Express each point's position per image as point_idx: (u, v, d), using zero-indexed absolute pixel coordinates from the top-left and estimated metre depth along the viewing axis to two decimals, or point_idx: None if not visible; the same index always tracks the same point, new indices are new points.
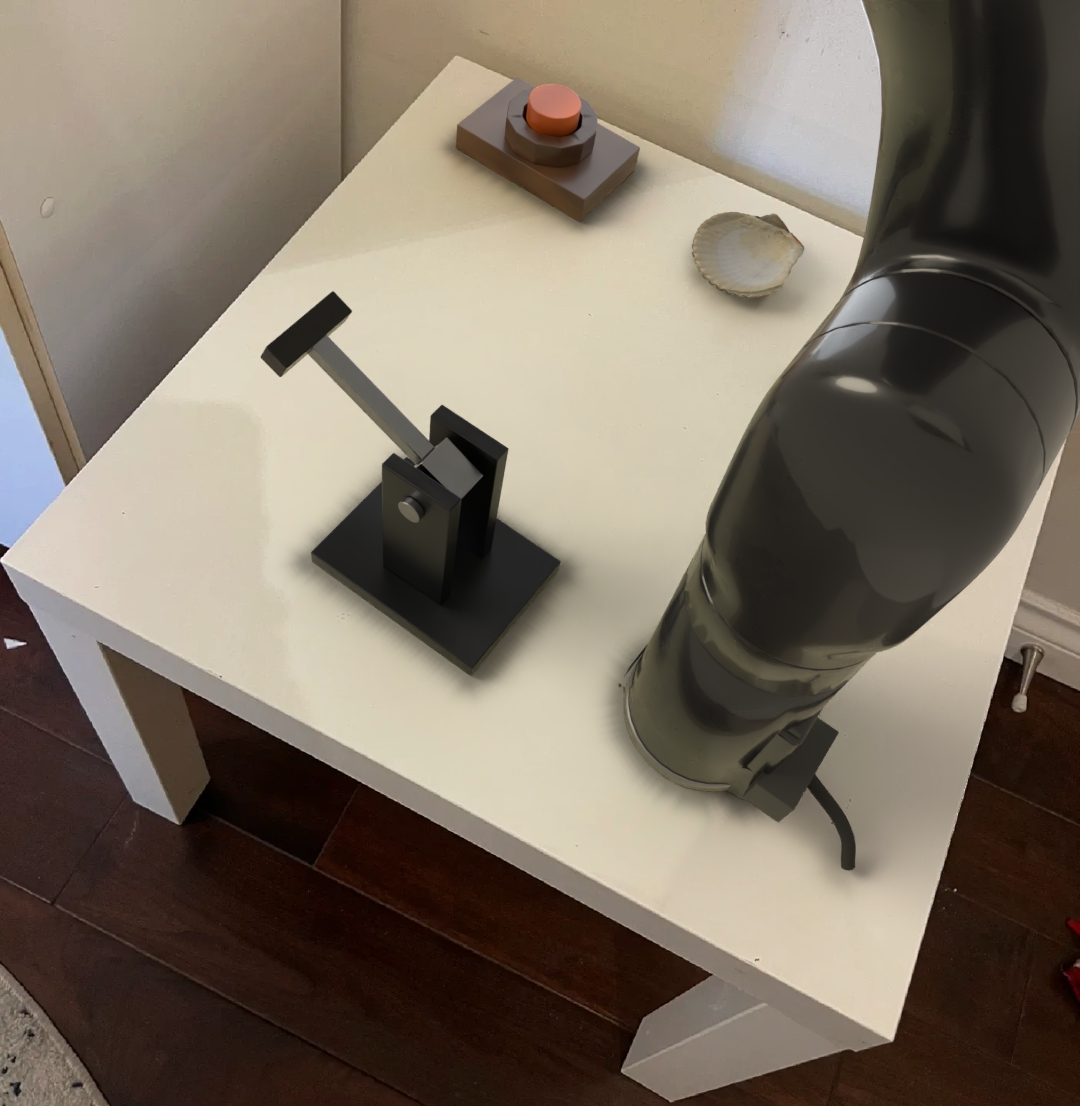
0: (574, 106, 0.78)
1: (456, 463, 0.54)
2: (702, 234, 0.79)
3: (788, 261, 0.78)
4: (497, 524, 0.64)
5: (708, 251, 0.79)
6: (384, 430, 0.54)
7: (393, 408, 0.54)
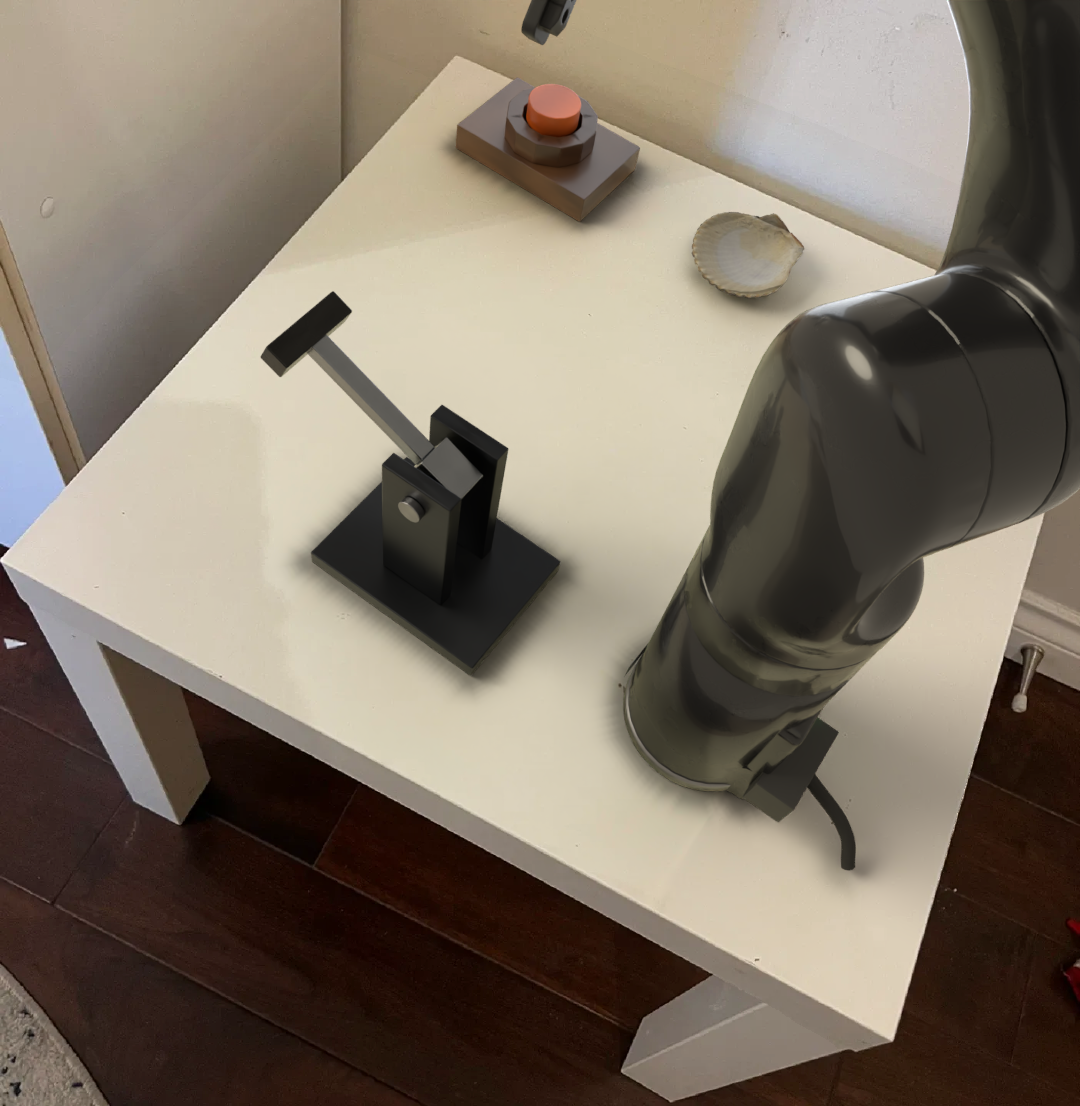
0: (574, 106, 0.78)
1: (456, 463, 0.54)
2: (702, 234, 0.79)
3: (788, 261, 0.78)
4: (497, 524, 0.64)
5: (708, 251, 0.79)
6: (384, 430, 0.54)
7: (393, 408, 0.54)
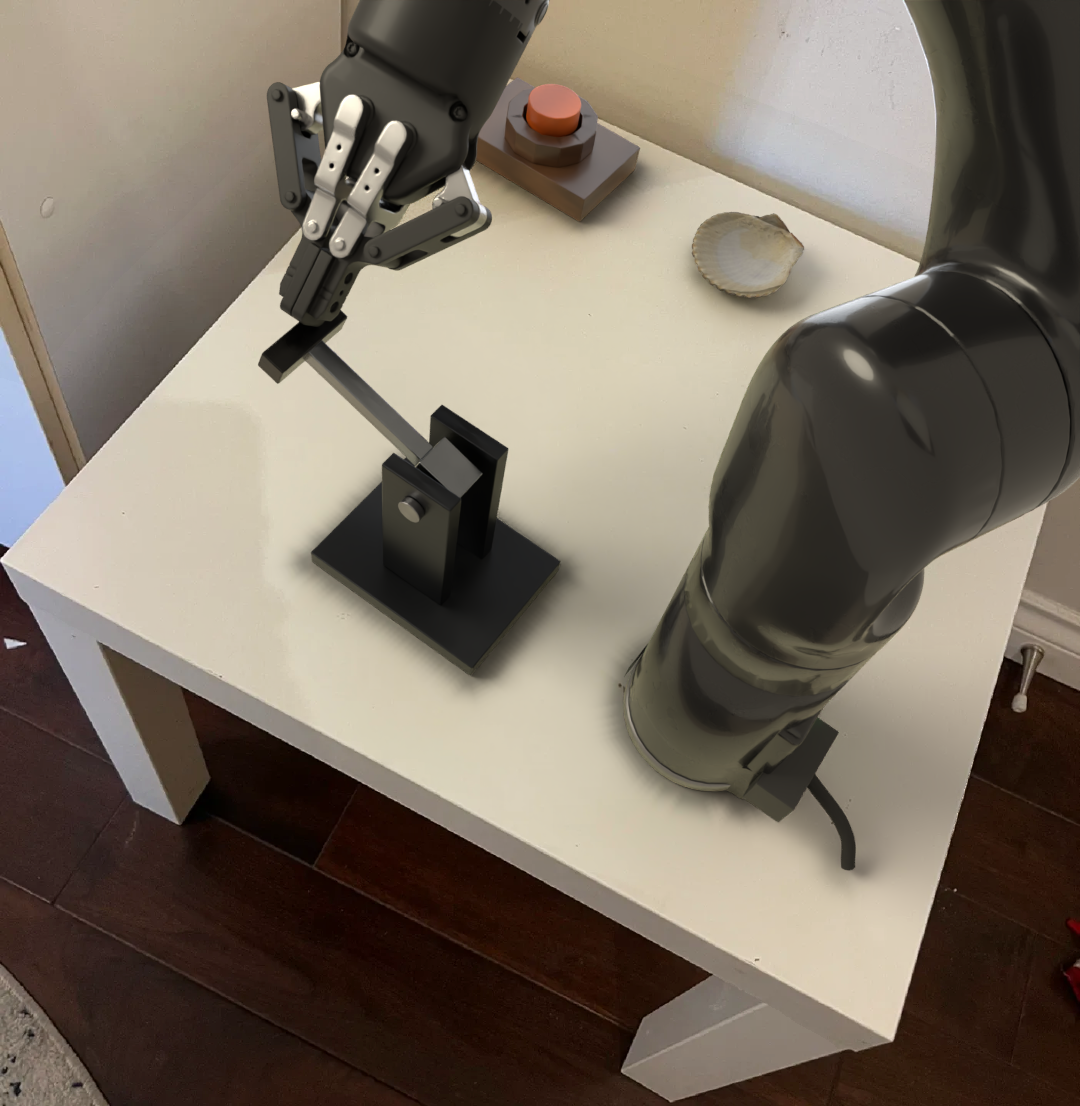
0: (574, 106, 0.78)
1: (455, 462, 0.54)
2: (702, 234, 0.79)
3: (788, 261, 0.78)
4: (497, 524, 0.64)
5: (708, 251, 0.79)
6: (382, 432, 0.54)
7: (390, 410, 0.54)
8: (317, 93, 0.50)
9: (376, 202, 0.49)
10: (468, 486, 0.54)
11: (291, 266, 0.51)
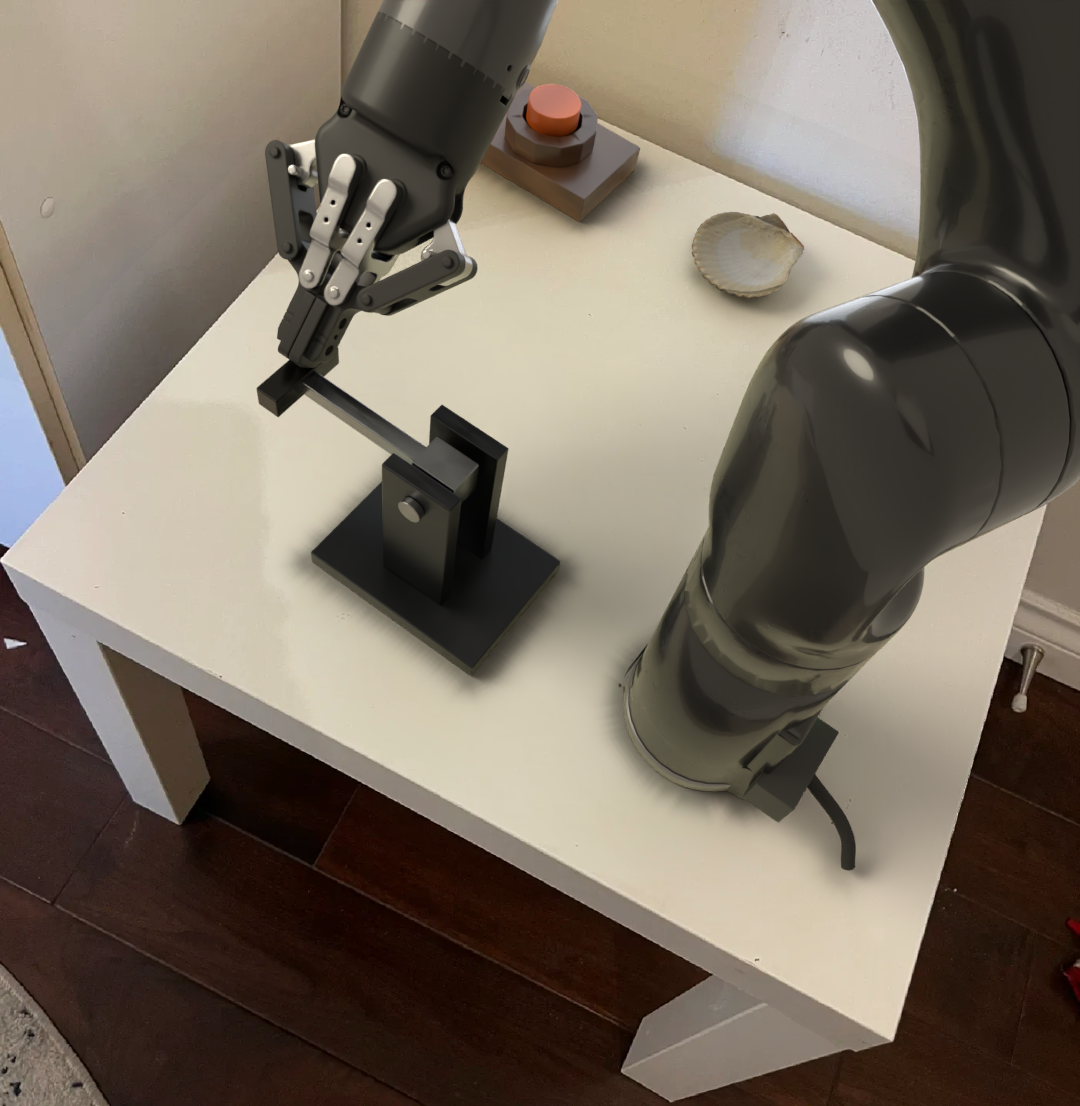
0: (574, 106, 0.78)
1: (449, 457, 0.54)
2: (702, 234, 0.79)
3: (788, 261, 0.78)
4: (497, 524, 0.64)
5: (708, 251, 0.79)
6: (380, 445, 0.55)
7: (384, 422, 0.55)
8: (312, 150, 0.53)
9: (368, 254, 0.52)
10: (464, 477, 0.54)
11: (288, 312, 0.55)
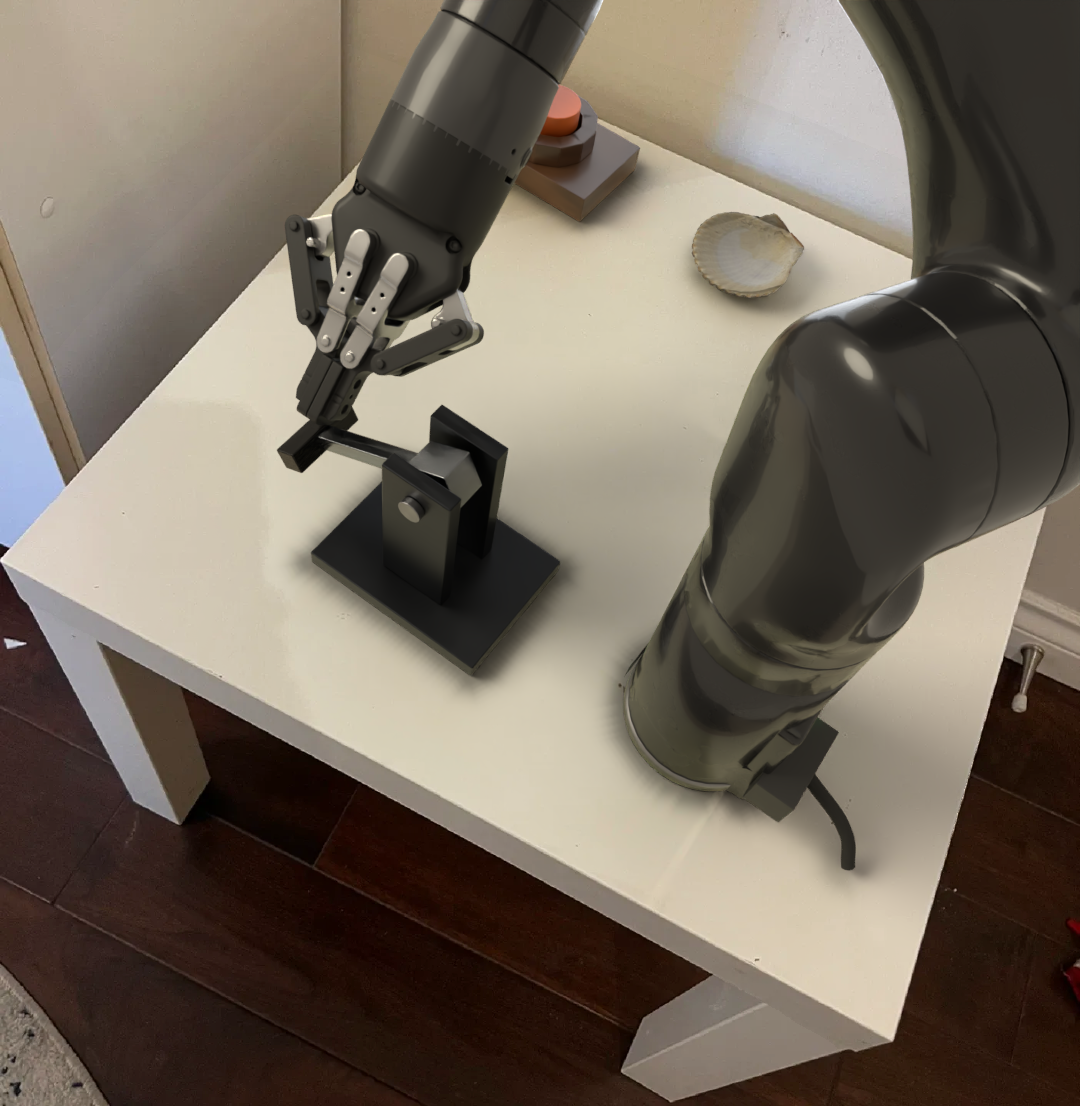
0: (574, 106, 0.78)
1: (440, 453, 0.54)
2: (702, 234, 0.79)
3: (788, 261, 0.78)
4: (497, 524, 0.64)
5: (708, 251, 0.79)
6: None
7: (387, 446, 0.57)
8: (329, 223, 0.57)
9: (382, 321, 0.56)
10: (454, 465, 0.53)
11: (306, 373, 0.58)
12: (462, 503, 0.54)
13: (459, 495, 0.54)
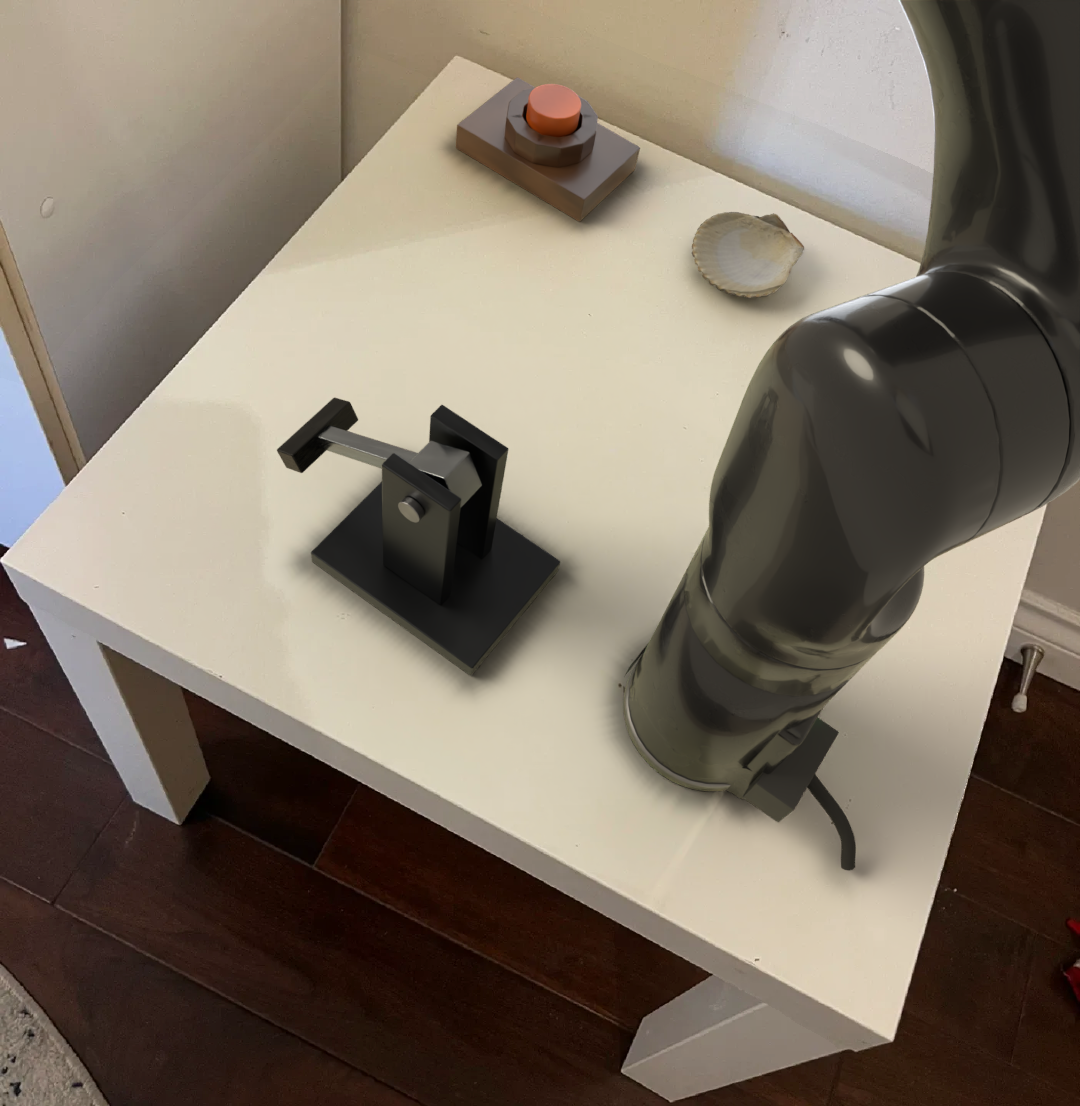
0: (574, 106, 0.78)
1: (440, 453, 0.54)
2: (702, 234, 0.79)
3: (788, 261, 0.78)
4: (497, 524, 0.64)
5: (708, 251, 0.79)
6: None
7: (387, 446, 0.57)
8: None
9: None
10: (454, 465, 0.53)
11: None
12: (462, 503, 0.54)
13: (459, 495, 0.54)
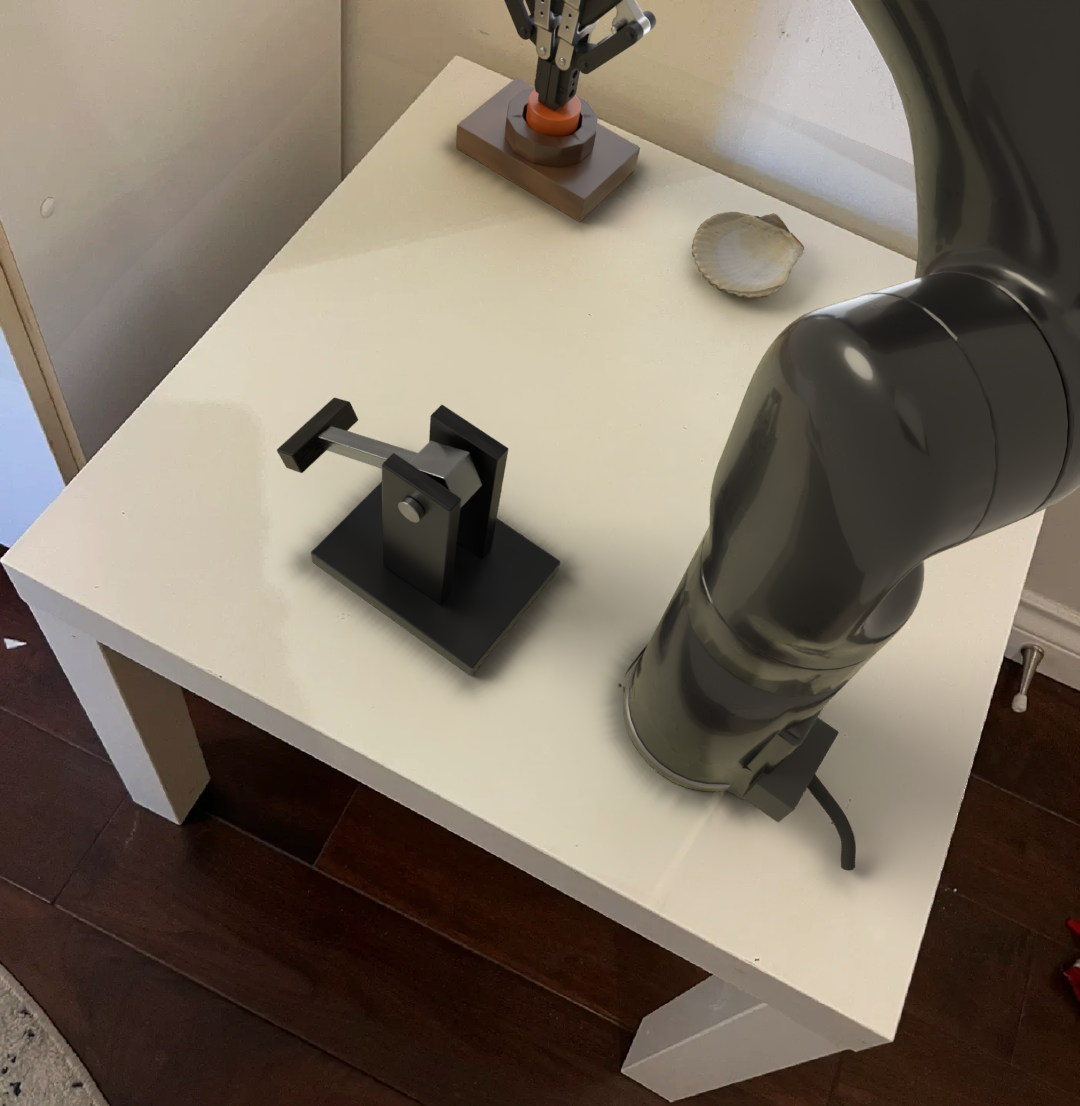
0: (574, 108, 0.78)
1: (440, 453, 0.54)
2: (702, 234, 0.79)
3: (788, 261, 0.78)
4: (497, 524, 0.64)
5: (708, 251, 0.79)
6: None
7: (387, 446, 0.57)
8: None
9: (576, 34, 0.71)
10: (454, 465, 0.53)
11: (537, 73, 0.76)
12: (462, 503, 0.54)
13: (459, 495, 0.54)
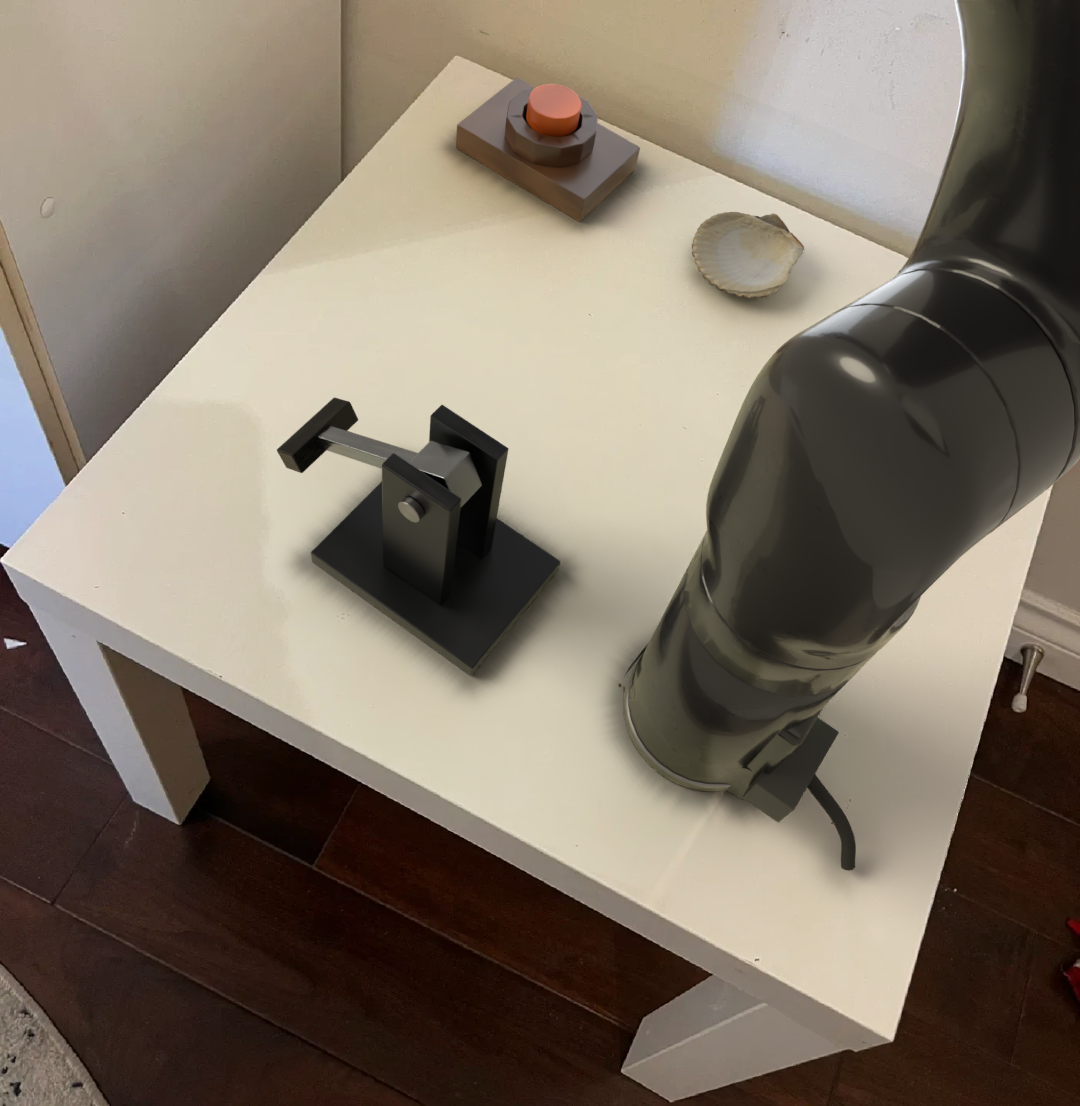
0: (574, 106, 0.78)
1: (440, 453, 0.54)
2: (702, 234, 0.79)
3: (788, 261, 0.78)
4: (497, 524, 0.64)
5: (708, 251, 0.79)
6: None
7: (387, 446, 0.57)
8: None
9: None
10: (454, 465, 0.53)
11: None
12: (462, 503, 0.54)
13: (459, 495, 0.54)
